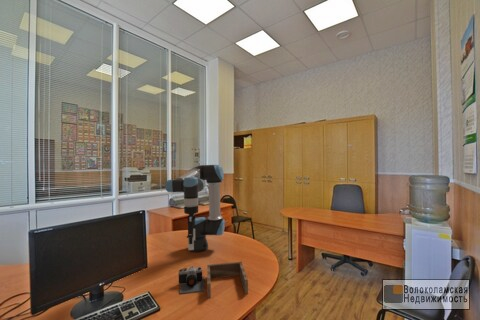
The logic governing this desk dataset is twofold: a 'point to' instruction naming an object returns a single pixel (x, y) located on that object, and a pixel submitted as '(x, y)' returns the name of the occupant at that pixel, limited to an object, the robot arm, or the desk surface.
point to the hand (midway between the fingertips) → (192, 244)
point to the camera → (190, 276)
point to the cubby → (226, 273)
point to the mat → (197, 287)
